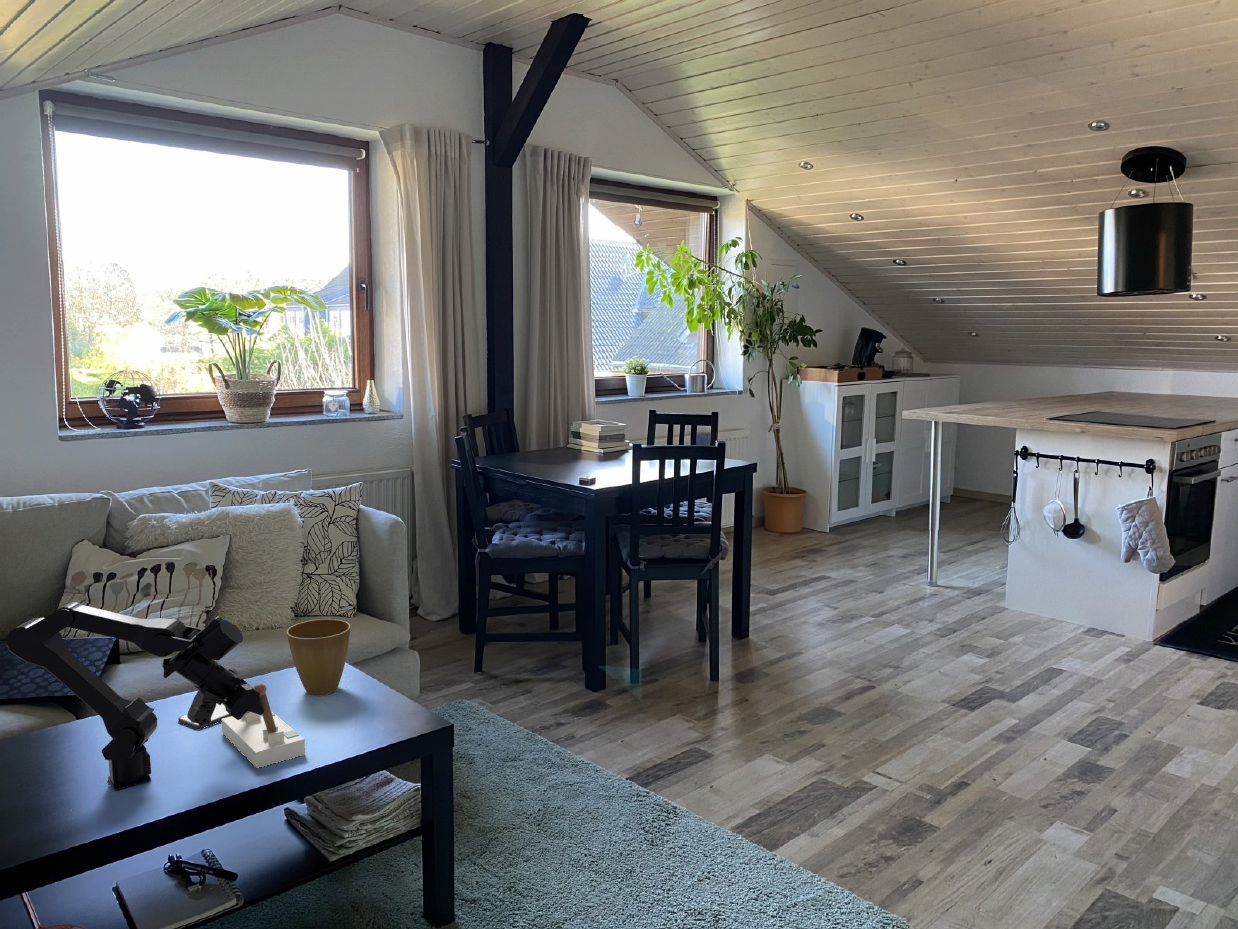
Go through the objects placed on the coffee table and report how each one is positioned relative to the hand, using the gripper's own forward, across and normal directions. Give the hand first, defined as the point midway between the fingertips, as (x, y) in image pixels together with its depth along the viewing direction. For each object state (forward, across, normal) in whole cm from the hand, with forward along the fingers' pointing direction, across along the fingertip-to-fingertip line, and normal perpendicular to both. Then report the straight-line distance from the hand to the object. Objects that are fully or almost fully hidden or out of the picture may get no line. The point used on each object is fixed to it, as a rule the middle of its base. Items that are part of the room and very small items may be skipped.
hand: (262, 713), depth 194 cm
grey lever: (+5, -15, -2) cm, 16 cm away
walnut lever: (+6, -1, -2) cm, 6 cm away
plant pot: (+24, -30, +10) cm, 40 cm away
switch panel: (+9, -8, -5) cm, 13 cm away
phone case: (+7, -31, -8) cm, 33 cm away
